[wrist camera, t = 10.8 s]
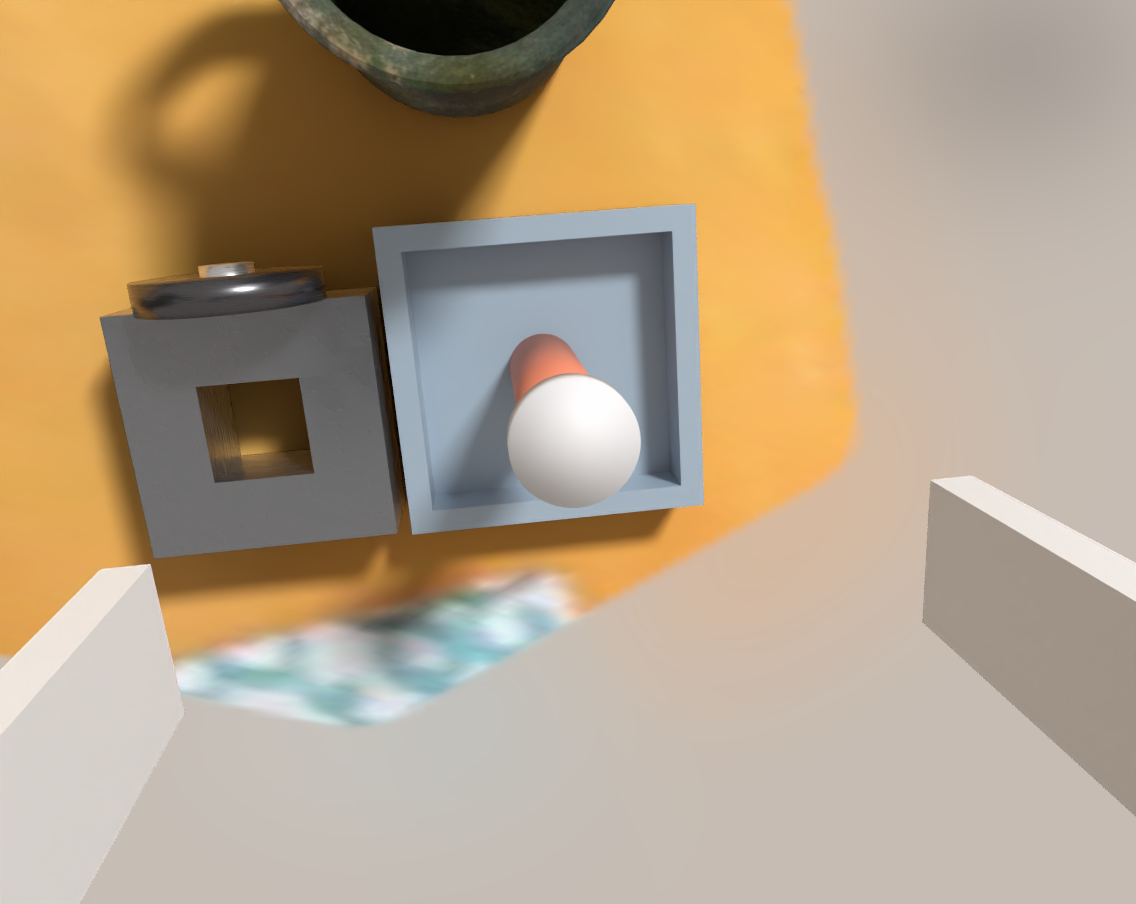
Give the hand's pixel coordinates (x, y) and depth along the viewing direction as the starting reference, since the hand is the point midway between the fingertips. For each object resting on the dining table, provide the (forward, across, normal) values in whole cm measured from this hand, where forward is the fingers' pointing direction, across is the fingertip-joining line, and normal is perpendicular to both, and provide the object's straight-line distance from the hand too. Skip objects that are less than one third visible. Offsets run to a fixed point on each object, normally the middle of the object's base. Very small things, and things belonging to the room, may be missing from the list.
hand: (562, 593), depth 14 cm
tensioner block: (+25, -10, -2) cm, 27 cm away
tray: (+25, +2, -1) cm, 25 cm away
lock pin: (+24, +2, -1) cm, 24 cm away
